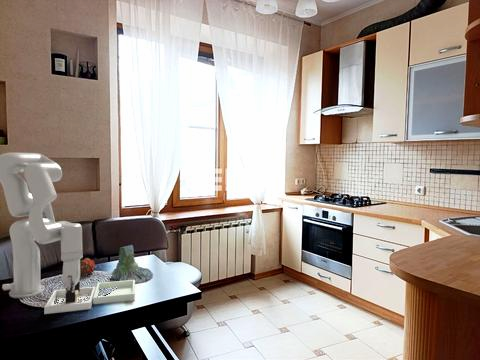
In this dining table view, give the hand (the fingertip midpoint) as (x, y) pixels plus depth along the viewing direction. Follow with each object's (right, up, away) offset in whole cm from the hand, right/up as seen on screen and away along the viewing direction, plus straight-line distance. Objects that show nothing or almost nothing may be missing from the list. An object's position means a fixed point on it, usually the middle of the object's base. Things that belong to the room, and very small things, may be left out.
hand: (73, 297), depth 126 cm
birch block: (-1, -2, 0) cm, 2 cm away
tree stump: (+13, -1, +30) cm, 33 cm away
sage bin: (+13, -3, +9) cm, 16 cm away
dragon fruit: (-11, -1, +33) cm, 34 cm away
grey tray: (-1, -3, 0) cm, 3 cm away
